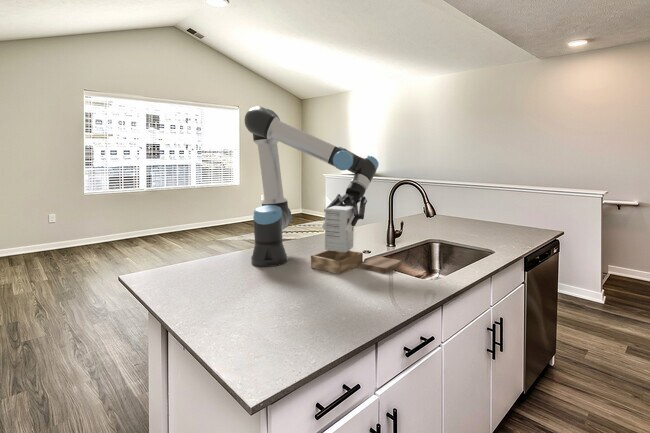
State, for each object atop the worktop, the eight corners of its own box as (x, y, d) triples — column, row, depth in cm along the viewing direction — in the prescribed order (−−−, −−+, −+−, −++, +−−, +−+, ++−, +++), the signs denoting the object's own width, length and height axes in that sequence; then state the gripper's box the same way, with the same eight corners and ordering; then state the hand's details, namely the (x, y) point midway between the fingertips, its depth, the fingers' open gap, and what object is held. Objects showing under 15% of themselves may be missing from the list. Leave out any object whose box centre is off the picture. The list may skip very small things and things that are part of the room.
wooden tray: (311, 267, 153) (310, 255, 153) (335, 258, 166) (334, 247, 165) (339, 274, 145) (339, 261, 144) (362, 264, 157) (362, 252, 156)
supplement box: (346, 252, 148) (346, 210, 145) (324, 250, 152) (324, 208, 149) (353, 247, 157) (354, 206, 154) (332, 244, 160) (333, 205, 157)
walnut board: (359, 267, 153) (359, 263, 152) (376, 260, 163) (376, 255, 162) (385, 273, 145) (385, 268, 145) (401, 265, 155) (401, 260, 155)
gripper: (385, 195, 155) (363, 239, 146) (338, 191, 169) (316, 231, 160) (378, 183, 150) (356, 228, 141) (331, 180, 164) (308, 220, 155)
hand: (335, 229), depth 150 cm, fingers closed on supplement box, 11 cm apart
